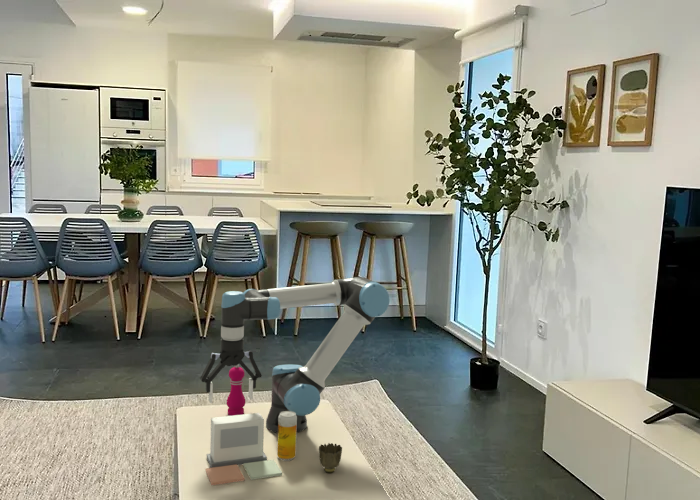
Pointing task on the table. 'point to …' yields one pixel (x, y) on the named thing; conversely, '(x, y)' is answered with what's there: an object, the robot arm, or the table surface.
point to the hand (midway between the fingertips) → (230, 399)
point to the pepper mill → (236, 392)
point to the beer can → (287, 435)
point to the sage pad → (262, 469)
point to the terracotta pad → (224, 474)
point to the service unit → (236, 440)
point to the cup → (330, 456)
